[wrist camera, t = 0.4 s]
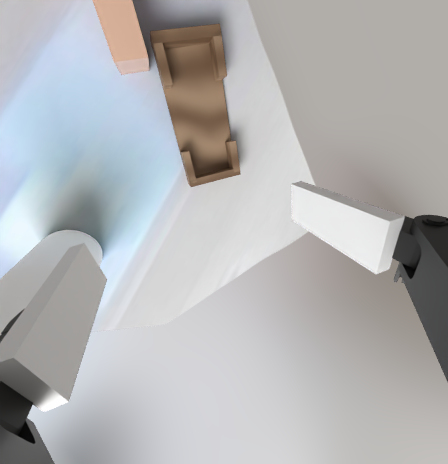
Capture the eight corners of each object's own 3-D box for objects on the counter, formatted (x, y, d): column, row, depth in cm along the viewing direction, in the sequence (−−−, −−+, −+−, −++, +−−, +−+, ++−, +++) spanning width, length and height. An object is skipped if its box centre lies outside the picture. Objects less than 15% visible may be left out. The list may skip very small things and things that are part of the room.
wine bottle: (48, 220, 33) (-316, 509, 8) (110, 236, 38) (12, 460, 12) (36, 266, 36) (-268, 603, 10) (96, 277, 40) (-10, 535, 14)
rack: (150, 40, 28) (150, 31, 25) (214, 33, 30) (219, 23, 27) (188, 183, 38) (190, 187, 35) (234, 171, 39) (240, 174, 37)
